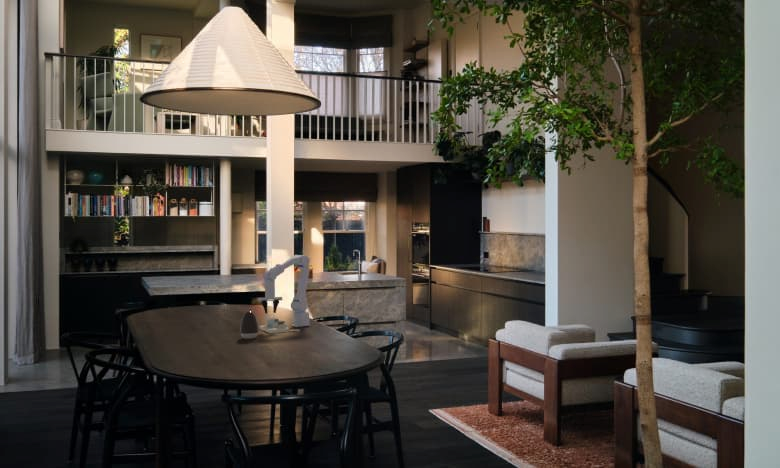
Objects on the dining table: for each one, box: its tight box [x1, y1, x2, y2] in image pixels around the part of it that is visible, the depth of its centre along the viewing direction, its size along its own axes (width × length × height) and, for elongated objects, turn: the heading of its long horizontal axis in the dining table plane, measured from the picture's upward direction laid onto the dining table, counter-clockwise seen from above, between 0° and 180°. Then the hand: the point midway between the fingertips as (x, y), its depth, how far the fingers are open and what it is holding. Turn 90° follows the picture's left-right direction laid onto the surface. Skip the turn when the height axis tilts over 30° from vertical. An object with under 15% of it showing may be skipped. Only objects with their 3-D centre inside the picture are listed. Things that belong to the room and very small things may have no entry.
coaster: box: [289, 329, 301, 333], centre depth 418 cm, size 6×6×1 cm
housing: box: [259, 322, 290, 334], centre depth 422 cm, size 12×19×4 cm, turn 28°
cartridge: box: [266, 316, 275, 327], centre depth 422 cm, size 4×4×6 cm
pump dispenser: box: [239, 311, 260, 340], centre depth 395 cm, size 10×10×15 cm
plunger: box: [277, 320, 286, 325], centre depth 419 cm, size 4×4×3 cm
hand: (270, 313), depth 422 cm, fingers open, 5 cm apart
